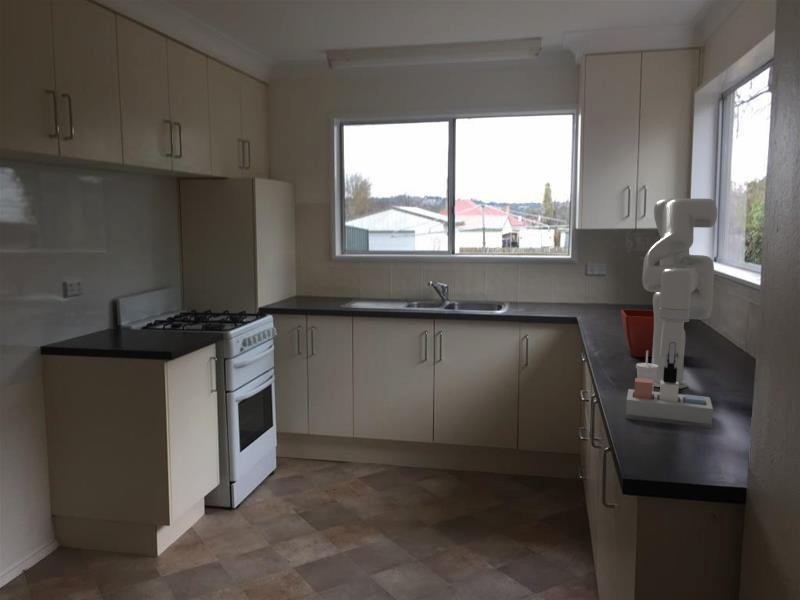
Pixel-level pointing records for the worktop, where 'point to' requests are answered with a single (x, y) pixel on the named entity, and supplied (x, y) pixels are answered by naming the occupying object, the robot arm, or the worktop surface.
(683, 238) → the robot arm
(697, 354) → the worktop surface
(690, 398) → the blue key
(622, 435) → the worktop surface
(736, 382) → the worktop surface
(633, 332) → the plant pot
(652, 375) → the smoothie
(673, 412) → the keypad housing
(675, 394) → the white key
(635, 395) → the red key
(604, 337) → the worktop surface
